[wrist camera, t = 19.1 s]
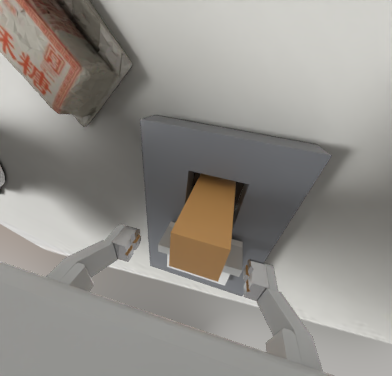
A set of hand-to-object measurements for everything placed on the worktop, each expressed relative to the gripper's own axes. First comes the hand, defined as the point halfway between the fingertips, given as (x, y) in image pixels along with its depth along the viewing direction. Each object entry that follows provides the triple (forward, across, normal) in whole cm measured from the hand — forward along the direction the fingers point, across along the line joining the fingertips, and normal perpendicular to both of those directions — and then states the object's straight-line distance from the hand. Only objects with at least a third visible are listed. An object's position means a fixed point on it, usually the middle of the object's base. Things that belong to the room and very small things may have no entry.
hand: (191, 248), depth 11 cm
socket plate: (+10, -1, +5) cm, 11 cm away
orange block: (+10, -1, 0) cm, 10 cm away
